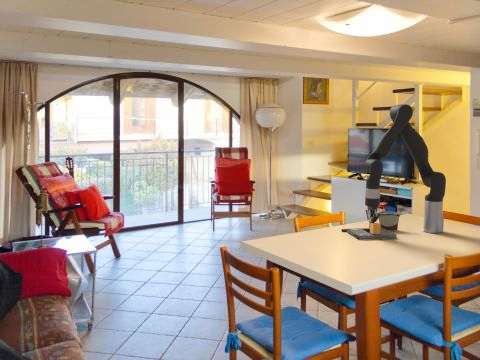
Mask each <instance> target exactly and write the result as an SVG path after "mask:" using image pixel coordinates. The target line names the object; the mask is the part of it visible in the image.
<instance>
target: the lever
mask: <svg viewBox="0 0 480 360" xmlns="http://www.w3.org/2000/svg"><path fill="white" fill-rule="evenodd" d="M380 230H381V224H379V222H374V223H370V233H372V235H377V234H380Z"/></svg>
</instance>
